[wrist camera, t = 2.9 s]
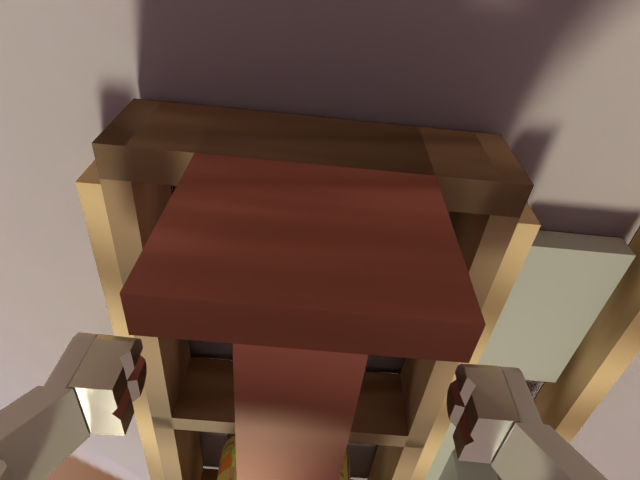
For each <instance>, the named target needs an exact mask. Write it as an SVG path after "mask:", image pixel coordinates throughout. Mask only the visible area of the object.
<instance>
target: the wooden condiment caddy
mask: <svg viewBox="0 0 640 480" xmlns="http://www.w3.org/2000/svg"><path fill="white" fill-rule="evenodd" d="M92 147H93V151H94V156H95V160H96V165H97V170H98V174H99V179H100V183H101V188H102V193H103V197H104V202H105V206H106V211H107V216H108V220H109V225H110V229H111V234H112V239H113V243H114V248H115V252H116V257H117V262H118V266H119V271H120V275H121V280H122V285H123V287H122V289H121V291H120V298H121V302H122V307H123V311H124V315H125V320H126V324H127V329H128V333H129V335H134V338H139V339H141V341H142V345H143V349H142V352H141V354H140V355H141V356H142V357H143V358H144V359H145V360H146V365H147V375H146V380H145V385H144V386H145V390H146V395H147V400H148V404H149V409H150V413H151V418H152V423H153V427H154V432H155V436H156V441H157V446H158V450H159V455H160V459H161V464H162V469H163V473H164V478H165V480H217V476H218V469H205V468H203V462H202V453H201V444H200V435H199V431H203V432H216V433H229V434H235V440H236V472H237V480H339V478H340V474H341V470H342V466H343V461H344V457H345V453H346V449H347V444H348V443H358V444H371V445H378V448H377V451H376V454H375V457H374V460H373V464H372V467H371V470H370V473H369V477H368V480H410V479H411V477H412V475H413V472H414V470H415V467H416V465H417V463H418V460H419V458H420V455H421V453H422V451H423V448H424V446H425V444H426V441H427V439H428V436H429V434H430V432H431V429H432V427H433V424H434V422H435V420H436V417H437V415H438V412H439V410H440V408H441V405H442V403H443V401H444V398H445V396H446V393H447V391H448V389H449V386H450V383H451V381H452V379H453V377H454V374H455V371H456V368H457V366H458V365H459V362H460V363H469V362H470V360H471V357H472V355H473V353H474V351H475V348H476V346H477V344H478V341H479V339H480V337H481V335H482V332H483V330H484V328H485V325H486V324H485V321H484V318H483V315H482V312H481V310H482V307H483V305H484V303H485V300H486V298H487V296H488V293H489V291H490V288H491V286H492V284H493V281H494V279H495V276H496V274H497V272H498V269H499V267H500V265H501V262H502V260H503V257H504V255H505V253H506V250H507V248H508V245H509V243H510V241H511V238H512V236H513V234H514V231H515V229H516V226H517V224H518V222H519V219H520V217H521V214H522V212H523V210H524V207H525V205H526V203H527V200H528V198H529V195H530V193H531V191H532V188H533V186H534V185H533V183H532V182H531V180H530V179H529V177H528V176H527V174H526V173H525V171H524V170H523V168H522V166H521V165H520V163H519V162H518V160H517V159H516V157H515V156H514V154H513V153H512V151H511V150H510V148H509V147H508V145H507V144H506V142H505V141H504V139H503V137H502V136H501V135H497V134H487V133H477V132H467V131H457V130H447V129H437V128H427V127H416V126H406V125H396V124H386V123H376V122H366V121H356V120H345V119H335V118H325V117H315V116H305V115H295V114H285V113H274V112H264V111H254V110H244V109H234V108H224V107H214V106H203V105H193V104H183V103H173V102H163V101H153V100H143V99H133V100H132V101H131V102H130V103H129V104H128V105H127V107H126V108H125V109H124V110H123V111H122V112H121V113H120V114H119V115H118V116H117V117H116V118H115V119H114V120H113V121H112V122H111V123H110V124H109V125H108V126H107V128H106V129H105V130H104V131H103V132H102V133H101V134H100V135H99V136H98V137H97V138H96V139H95V140H94V141H93V142H92ZM171 185H172V186H176V188H175V190H174V192H173V194H172V191H171ZM448 211H450V214H448ZM189 340H196V341H208V342H220V343H232V344H233V361H232V360H220V359H208V358H196V357H190V348H189ZM368 355H376V356H388V357H400V358H405V360H404V363H403V366H402V370H401V373H400V374H391V373H378V372H366V371H365V368H366V363H367V359H368ZM350 480H352V479H350Z"/></svg>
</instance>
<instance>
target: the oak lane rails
mask: <svg viewBox="0 0 640 480" xmlns="http://www.w3.org/2000/svg"><path fill="white" fill-rule="evenodd" d="M76 186H77V190H78V194H79V198H80V202H81V206H82V210H83V214H84V218H85V222H86V226H87V230H88V234H89V238H90V242H91V246H92V249H93V253H94V257H95V261H96V265H97V269H98V273H99V277H100V281H101V285H102V289H103V293H104V297H105V301H106V305H107V309H108V313H109V317H110V320H111V324H112V328H113V332H114V336H121V337H131V338H134V335H129V333H128V329H127V324H126V320H125V315H124V311H123V307H122V302H121V298H120V291H121V289H122V287H123V285H122V280H121V275H120V271H119V266H118V262H117V257H116V252H115V248H114V243H113V239H112V234H111V229H110V225H109V220H108V216H107V211H106V206H105V202H104V197H103V193H102V188H101V183H100V179H99V174H98V170H97V165H96V160H94V162H93V163H92V164H91V165H90V166H89V167H88V168H87V169H86V171H85V172H84V173H83V174H82V175H81V176H80V177H79V178H78V180H77V181H76ZM540 226H541V224H540V223H539V221H538V219H537V218H536V216H535V214H534V213H533V211H532V209H531V208H530V206H529V204H528V203H526V205H525V207H524V210H523V212H522V214H521V217H520V219H519V222H518V224H517V226H516V229H515V231H514V234H513V236H512V238H511V241H510V243H509V245H508V248H507V250H506V253H505V255H504V257H503V260H502V262H501V265H500V267H499V269H498V272H497V274H496V276H495V279H494V281H493V284H492V286H491V288H490V291H489V293H488V296H487V298H486V300H485V303H484V305H483V307H482V310H481V312H482V315H483V318H484V321H485V324H486V325H485V328H484V330H483V332H482V335H481V337H480V339H479V341H478V344H477V346H476V348H475V351H474V353H473V355H472V357H471V360H470V362H469V363H463V364H478V362H479V360H480V358H481V356H482V353H483V351H484V349H485V347H486V345H487V342H488V340H489V338H490V336H491V334H492V331H493V329H494V327H495V325H496V323H497V321H498V318H499V316H500V314H501V312H502V310H503V307H504V305H505V303H506V301H507V299H508V296H509V294H510V292H511V290H512V288H513V285H514V283H515V281H516V279H517V277H518V275H519V272H520V270H521V268H522V266H523V264H524V261H525V259H526V257H527V255H528V253H529V250H530V248H531V246H532V244H533V242H534V239H535V237H536V235H537V233H538V231H539V229H540ZM629 247H630V249H631V250H632V251H633V252H634V254H635V255H636V256H635V258H634V260H633V261H632V263H631V264H630V266H629V267H628V269H627V271H626V272H625V274H624V275H623V277H622V278H621V280H620V282H619V283H618V285H617V286H616V288H615V290H614V291H613V293H612V294H611V296H610V297H609V299H608V301H607V302H606V304H605V305H604V307H603V308H602V310H601V312H600V313H599V315H598V316H597V318H596V319H595V321H594V323H593V324H592V326H591V327H590V329H589V330H588V332H587V334H586V335H585V337H584V338H583V340H582V341H581V343H580V345H579V346H578V348H577V349H576V351H575V352H574V354H573V356H572V357H571V359H570V360H569V362H568V364H567V365H566V367H565V368H564V370H563V371H562V373H561V375H560V376H559V378H558V379H557V381H556V382H545V383H544V385H543V386H542V388H541V389H540V391H539V393H538V394H537V396H536V398H535V399H534V403H535V405H536V408H537V410H538V413H539V415H540V418H541V420H542V423H543V424H545V425H550V426H551V427H552V428H553V429H554V430H555V431H556V432H557V433H558V434H559V435H560V436H561V437H562V438H564V439H565V440H566V441H567V442H568V443H570V442H571V440H572V439H573V438H574V436H575V435H576V434H577V432H578V431H579V430H580V428H581V427H582V426H583V424H584V423H585V422H586V420H587V419H588V418H589V417H590V415H591V414H592V413H593V411H594V410H595V409H596V407H597V406H598V405H599V403H600V402H601V401H602V399H603V398H604V397H605V395H606V394H607V393H608V392H609V390H610V389H611V388H612V386H613V385H614V384H615V382H616V381H617V380H618V378H619V377H620V376H621V374H622V373H623V372H624V370H625V369H626V368H627V366H628V365H629V364H630V363H631V361H632V360H633V359H634V357H635V356H636V355H637V353H638V352H639V351H640V228H639V230H638V231H637V233H636V235H635V236H634V238H633V239H632V241H631V243H630V244H629ZM459 364H460V362H459ZM455 380H456V376H455V374H454V377H453V379H452V381H451V383H452V382H453V381H455ZM447 392H448V391H447ZM132 403H133V408H134V415H135V419H136V423H137V427H138V431H139V435H140V439H141V443H142V447H143V451H144V455H145V458H146V462H147V466H148V470H149V474H150V478H151V480H165V478H164V473H163V469H162V464H161V459H160V455H159V450H158V446H157V441H156V436H155V432H154V427H153V423H152V418H151V413H150V409H149V404H148V400H147V395H146V390H145V386H144V388H143V391H142V393H141V396H140V397H139V398H137V399H136V400H135V401H134V402H132ZM450 423H451V421H450V420H449V417H448V412H447V393H446V396H445V398H444V401H443V403H442V405H441V408H440V410H439V412H438V415H437V417H436V420H435V422H434V424H433V427H432V429H431V432H430V434H429V436H428V439H427V441H426V444H425V446H424V448H423V451H422V453H421V455H420V458H419V460H418V463H417V465H416V467H415V470H414V472H413V475H412V477H411V479H410V480H425V478H426V476H427V474H428V472H429V469H430V467H431V465H432V463H433V461H434V458H435V456H436V454H437V452H438V450H439V448H440V445H441V443H442V441H443V439H444V437H445V434H446V432H447V430H448V428H449V426H450ZM497 477H498V480H502V479H501V478H500V477H499V475H498V474H497Z"/></svg>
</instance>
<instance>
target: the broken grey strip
mask: <svg viewBox="0 0 640 480" xmlns="http://www.w3.org/2000/svg"><path fill="white" fill-rule="evenodd" d="M635 256H636V255H635V254H634V252H633V251H632V250H631V249H630V247H629V246H628V245H627V244H626V242H625V241H624V240H623V239H622V238H617V237H606V236H595V235H584V234H574V233H563V232H552V231H541V230H539V231H538V233H537V235H536V237H535V239H534V242H533V244H532V246H531V248H530V250H529V253H528V255H527V257H526V259H525V261H524V264H523V266H522V268H521V270H520V272H519V275H518V277H517V279H516V281H515V283H514V285H513V288H512V290H511V292H510V294H509V296H508V299H507V301H506V303H505V305H504V307H503V310H502V312H501V314H500V316H499V318H498V321H497V323H496V325H495V327H494V329H493V331H492V334H491V336H490V338H489V340H488V342H487V345H486V347H485V349H484V351H483V353H482V356H481V358H480V360H479V362H478V365H493V366H502V367H514V368H519V369H520V370H521V371H522V373H523V375H524V378H525V380H531V381H544V382H556V381H557V379H558V378H559V376H560V375H561V373H562V371H563V370H564V368H565V367H566V365H567V364H568V362H569V360H570V359H571V357H572V356H573V354H574V352H575V351H576V349H577V348H578V346H579V345H580V343H581V341H582V340H583V338H584V337H585V335H586V334H587V332H588V330H589V329H590V327H591V326H592V324H593V323H594V321H595V319H596V318H597V316H598V315H599V313H600V312H601V310H602V308H603V307H604V305H605V304H606V302H607V301H608V299H609V297H610V296H611V294H612V293H613V291H614V290H615V288H616V286H617V285H618V283H619V282H620V280H621V278H622V277H623V275H624V274H625V272H626V271H627V269H628V267H629V266H630V264H631V263H632V261H633V260H634V258H635ZM455 429H456V427H455V426H454V425H453V423H452V422H451V423H450V426H449V428H448V430H447V432H446V434H445V437H444V439H443V441H442V443H441V445H440V448H439V450H438V452H437V454H436V456H435V458H434V461H433V463H432V465H431V467H430V469H429V472H428V474H427V476H426V478H425V480H498V477H497V473H496V471H495V470H494V469H493V468H492V466H491V464H489V463H479V462H469V461H459V460H458V458H457V454H456V449H455V445H454V440H453V433H454V431H455Z"/></svg>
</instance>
